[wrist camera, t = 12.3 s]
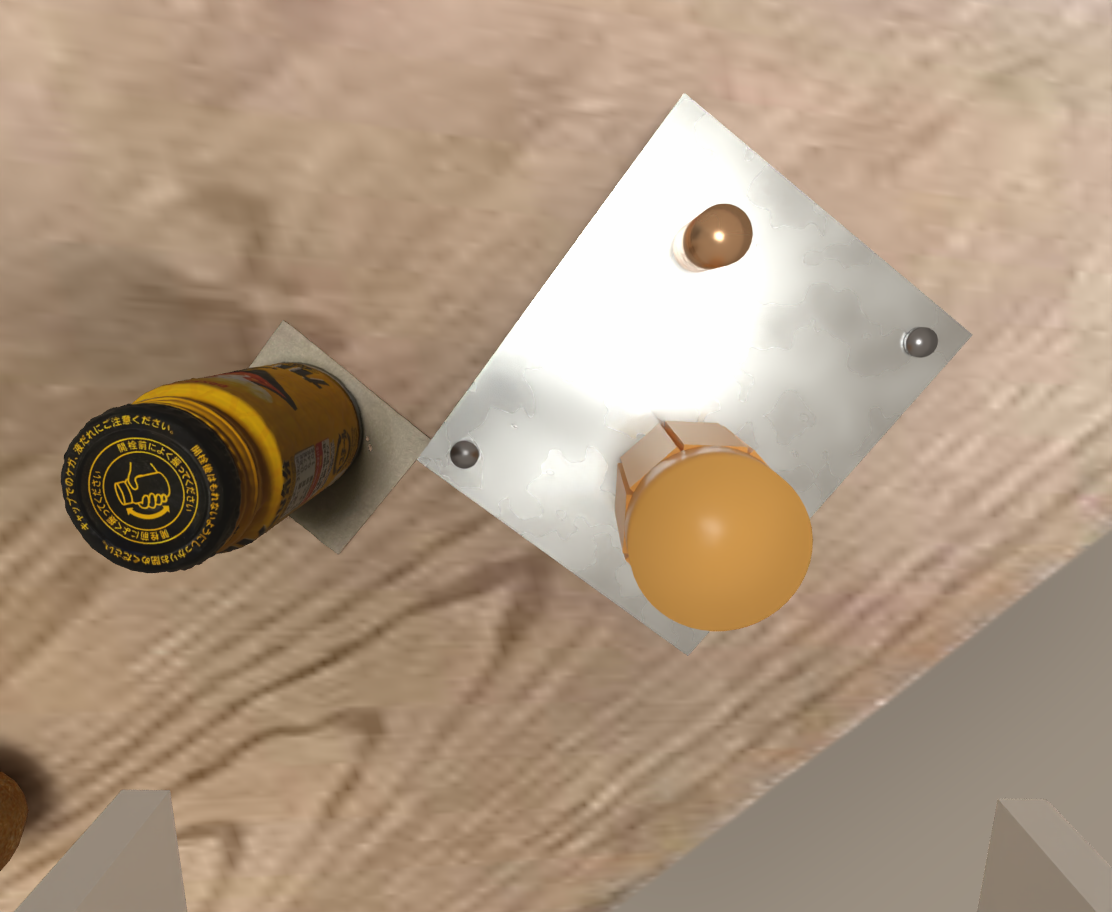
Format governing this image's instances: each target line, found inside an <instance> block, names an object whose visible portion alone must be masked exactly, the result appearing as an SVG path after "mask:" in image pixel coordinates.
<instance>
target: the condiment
mask: <svg viewBox="0 0 1112 912" xmlns="http://www.w3.org/2000/svg"><path fill="white" fill-rule="evenodd" d="M366 436H368V437H369V441H368V442H367V441H366ZM430 441H431V439H429V438H428V437H427V436H426V435H425V434H423V433H422V432H421V431H419V430H418V429H417V428H416V427H414V426H413V425H412V424H411V423H410V422H409V421H407V420H406V419H405V418H404V417H402V416H401V415H399V414H398V413H397V412H396V411H395V410H393V409H392V408H391V407H390V406H388V405H387V404H386V403H385V402H384V401H382V400H381V399H380V398H378V397H377V396H376V395H375V394H374V393H373V392H372V391H370V390H369V389H368V388H367V387H366V386H364V385H363V384H362V383H361V382H360V381H358V380H357V379H356V378H355V377H354V376H353V375H351V374H350V373H349V372H348V371H346V370H345V369H344V368H343V367H341V366H340V365H339V364H338V363H336V362H335V361H334V360H333V359H332V358H330V357H329V356H328V355H327V354H325V353H324V352H323V351H322V350H321V349H319V348H318V347H317V346H316V345H314V344H313V343H312V342H310V341H309V340H308V339H307V338H306V337H305V336H303V335H302V334H301V333H300V332H298V331H297V330H296V329H294V328H293V327H292V326H291V325H289V324H288V323H286V322H285V321H284V320H283V321H282V322H281V324H280V325H279V327H278V328H277V329H276V331H275V332H274V333H273V335H272V336H271V338H270V339H269V340H268V342H267V343H266V345H265V346H264V347H263V349H262V350H261V352H260V353H259V355H258V356H257V357H256V359H255V360H254V362H253V363H252V364H251V365H250V367H249V368H248V369H244V370H239V371H233V372H230V373H224V374H219V375H214V376H209V377H204V378H198V379H196V378H192V379H190V380H184V381H178V382H174V383H172V384H167V385H162V386H160V387H158V388H156V389H153V390H151V391H149V392H147V393H145V394H143V395H142V396H140V397H139V398H138V399H137V400H136V401H134V402H133V403H132V404H127V405H124V406H121V407H116V408H112V409H109V410H107V411H106V412H104V413H103V414H101V415H99V416H97V417H94V418H92V419H91V420H90V421H89V422H88V423H86V425H85V426H84V428H83V429H81V430H80V432H79V433H78V435H77V436H76V437H75V438H74V439H73V440H72V442H71V443H70V445H69V447H68V449H67V452H66V453H65V455H64V464H63V468H62V471H61V485H62V491H63V497H64V500H65V508H66V511H67V513H68V515H69V516H70V518H71V520H72V522H73V524H74V525H75V527H76V528H77V529H78V531H79V532H80V533H81V535H82V536H83V538H84V539H85V540H86V542H87V543H88V544H89V545H90V546H91V548H93V549H94V550H96V551H97V552H98V553H100V554H101V555H103V556H104V557H106V558H107V559H109V560H110V561H111V562H113V563H115V564H117V565H119V566H122V567H125V568H127V569H130V570H132V571H138V572H145V573H159V572H166V571H167V572H175V571H178V570H184V571H185V570H187V569H190V568H192V567H194V566H195V565H200V564H202V563H203V562H204V561H205V560H206V559H208V558H210V557H212V556H214V555H215V554H219V553H225V552H230V551H232V550H235V549H239V548H242V547H244V546H245V545H247V544H249V543H252V542H253V541H254V540H256V539H257V538H258V537H260V536H261V535H263V534H264V533H266V532H267V531H268V530H270V529H271V528H272V527H274V526H275V525H276V524H278V523H279V522H280V521H282V520H284V519H285V518H286V517H287V516H290V517H291V518H292V519H294V520H295V521H296V522H297V523H299V524H300V525H302V526H303V527H304V528H305V529H307V530H308V531H309V532H311V533H312V534H313V535H314V536H315V537H316V538H317V539H319V540H320V541H321V542H322V543H323V544H325V545H326V546H328V547H329V548H330V549H332V550H333V551H334V552H335V553H337V554H339V553H340V552H341V551H342V550H343V548H344V547H345V546H346V545H347V543H348V542H349V541H350V540H351V539H352V537H353V536H354V535H355V534H356V533H357V531H358V530H359V529H360V528H361V526H362V525H363V524H364V523H365V522H366V520H367V519H368V518H369V517H370V516H371V515H372V513H373V512H374V511H375V509H376V508H377V507H378V506H379V505H380V503H381V502H382V501H383V500H384V498H385V497H386V496H387V495H388V494H389V492H390V491H391V490H392V488H393V487H395V485H396V484H397V483H398V481H399V480H400V479H401V478H402V476H403V475H404V474H405V473H406V472H407V470H408V469H409V468H410V467H411V466H412V464H413V463H414V462H415V461H416V459H417V458H418V457H419V456H420V454H421V453H422V452H423V450H424V449H425V448H426V446H427V445H428V444H429V442H430ZM369 444H371V445H372V451H370V450H369V447H368V445H369Z"/></svg>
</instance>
